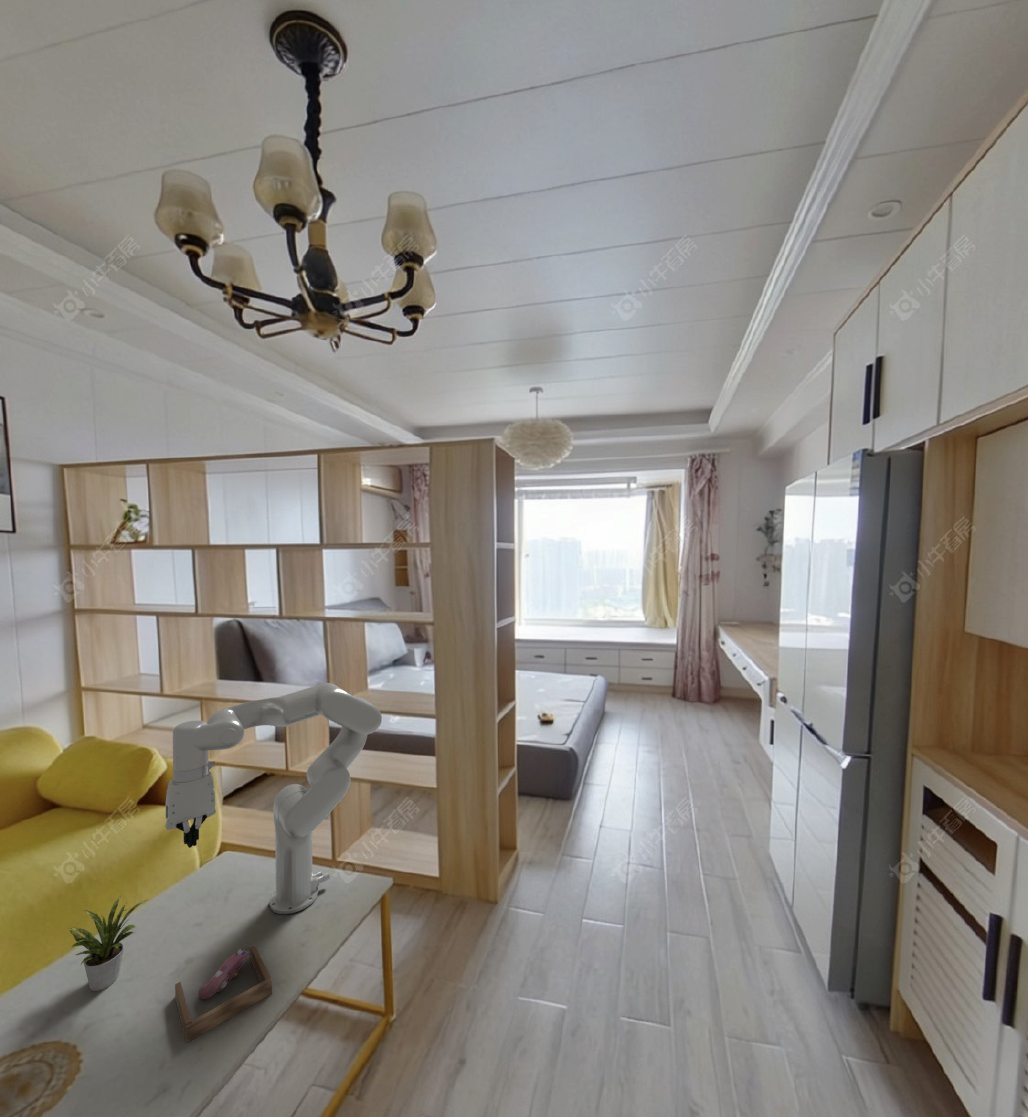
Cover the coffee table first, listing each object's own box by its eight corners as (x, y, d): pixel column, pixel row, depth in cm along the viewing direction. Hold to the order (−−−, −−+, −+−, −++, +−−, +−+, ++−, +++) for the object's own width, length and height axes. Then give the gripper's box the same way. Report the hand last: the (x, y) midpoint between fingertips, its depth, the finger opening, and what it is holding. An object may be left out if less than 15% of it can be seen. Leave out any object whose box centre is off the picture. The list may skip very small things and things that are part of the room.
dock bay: (254, 956, 118) (254, 944, 118) (272, 993, 108) (272, 980, 108) (175, 997, 107) (175, 984, 107) (186, 1042, 97) (186, 1028, 97)
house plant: (140, 941, 123) (139, 877, 123) (157, 971, 114) (156, 902, 114) (63, 980, 112) (62, 909, 112) (76, 1016, 103) (75, 940, 103)
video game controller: (210, 1010, 106) (222, 985, 105) (194, 997, 107) (206, 972, 106) (244, 972, 116) (255, 948, 115) (230, 960, 116) (241, 937, 116)
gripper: (220, 758, 131) (220, 826, 131) (151, 777, 120) (151, 851, 120) (228, 767, 125) (229, 838, 126) (158, 787, 115) (158, 864, 115)
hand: (191, 844), depth 123 cm, fingers closed
